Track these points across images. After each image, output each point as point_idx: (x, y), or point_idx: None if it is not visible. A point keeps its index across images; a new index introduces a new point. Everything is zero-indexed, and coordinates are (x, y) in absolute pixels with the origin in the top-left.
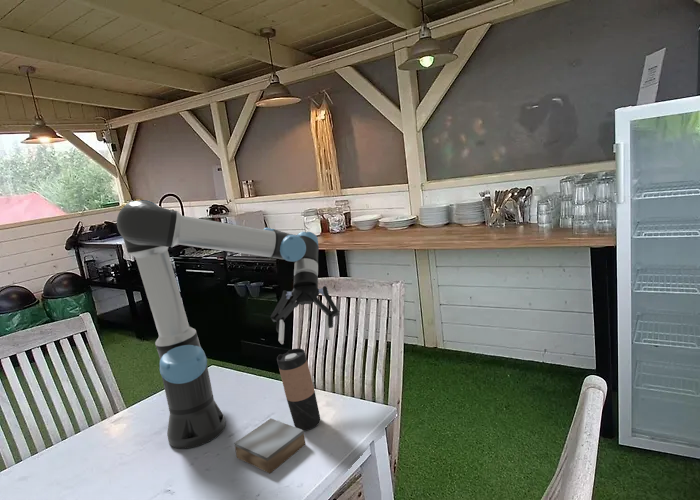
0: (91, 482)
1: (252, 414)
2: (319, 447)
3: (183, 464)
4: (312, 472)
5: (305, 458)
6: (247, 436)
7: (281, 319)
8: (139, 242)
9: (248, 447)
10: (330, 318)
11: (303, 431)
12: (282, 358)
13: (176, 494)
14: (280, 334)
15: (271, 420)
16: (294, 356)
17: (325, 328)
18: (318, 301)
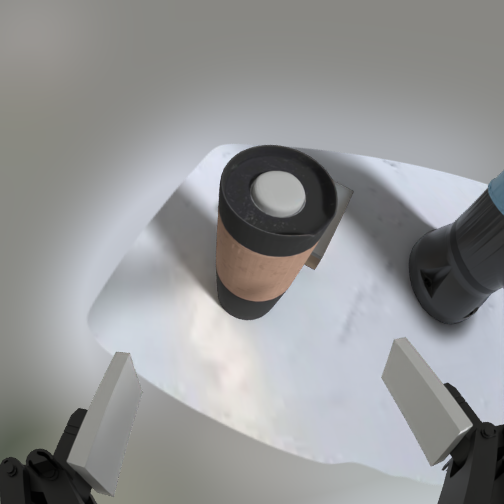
0: (473, 192)
1: (384, 335)
2: (209, 220)
3: (411, 204)
4: (212, 171)
5: None
6: (340, 204)
7: (462, 464)
8: None
9: None
10: (66, 449)
11: None
12: (318, 202)
13: (378, 158)
14: (414, 359)
15: (317, 248)
16: (260, 176)
17: (114, 388)
18: None
